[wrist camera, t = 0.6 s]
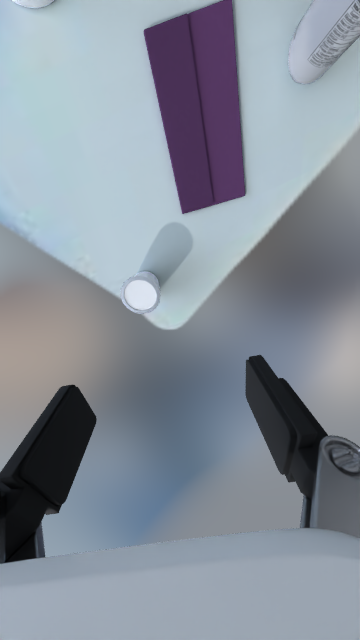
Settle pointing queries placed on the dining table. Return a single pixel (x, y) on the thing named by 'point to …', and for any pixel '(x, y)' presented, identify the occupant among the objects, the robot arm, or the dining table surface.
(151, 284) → the shot glass
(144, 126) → the dining table surface
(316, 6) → the energy drink can
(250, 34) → the dining table surface
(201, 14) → the napkin
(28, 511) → the robot arm
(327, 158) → the dining table surface
